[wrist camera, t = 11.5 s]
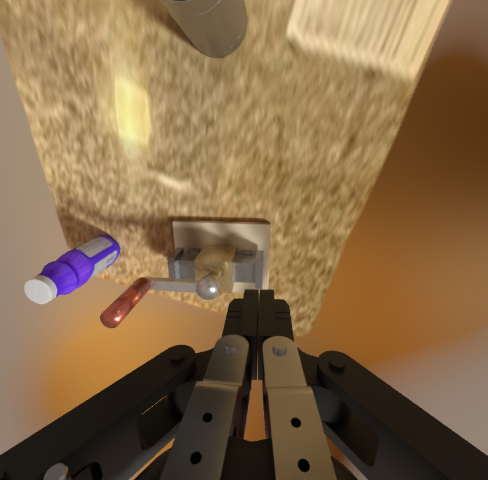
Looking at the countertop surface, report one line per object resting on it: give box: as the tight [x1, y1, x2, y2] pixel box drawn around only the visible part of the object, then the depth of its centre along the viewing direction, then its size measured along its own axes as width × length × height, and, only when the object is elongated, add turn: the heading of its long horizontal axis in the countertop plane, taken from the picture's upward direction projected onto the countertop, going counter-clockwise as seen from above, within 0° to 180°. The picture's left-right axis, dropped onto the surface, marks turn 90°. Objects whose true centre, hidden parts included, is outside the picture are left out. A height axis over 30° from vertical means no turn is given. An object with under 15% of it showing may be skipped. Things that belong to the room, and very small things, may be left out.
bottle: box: [24, 235, 120, 304], centre depth 47 cm, size 7×6×17 cm
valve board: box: [173, 220, 270, 293], centre depth 52 cm, size 18×14×2 cm
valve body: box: [167, 245, 264, 293], centre depth 47 cm, size 16×6×10 cm, turn 90°
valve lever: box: [100, 275, 220, 328], centre depth 37 cm, size 3×13×10 cm, turn 89°
